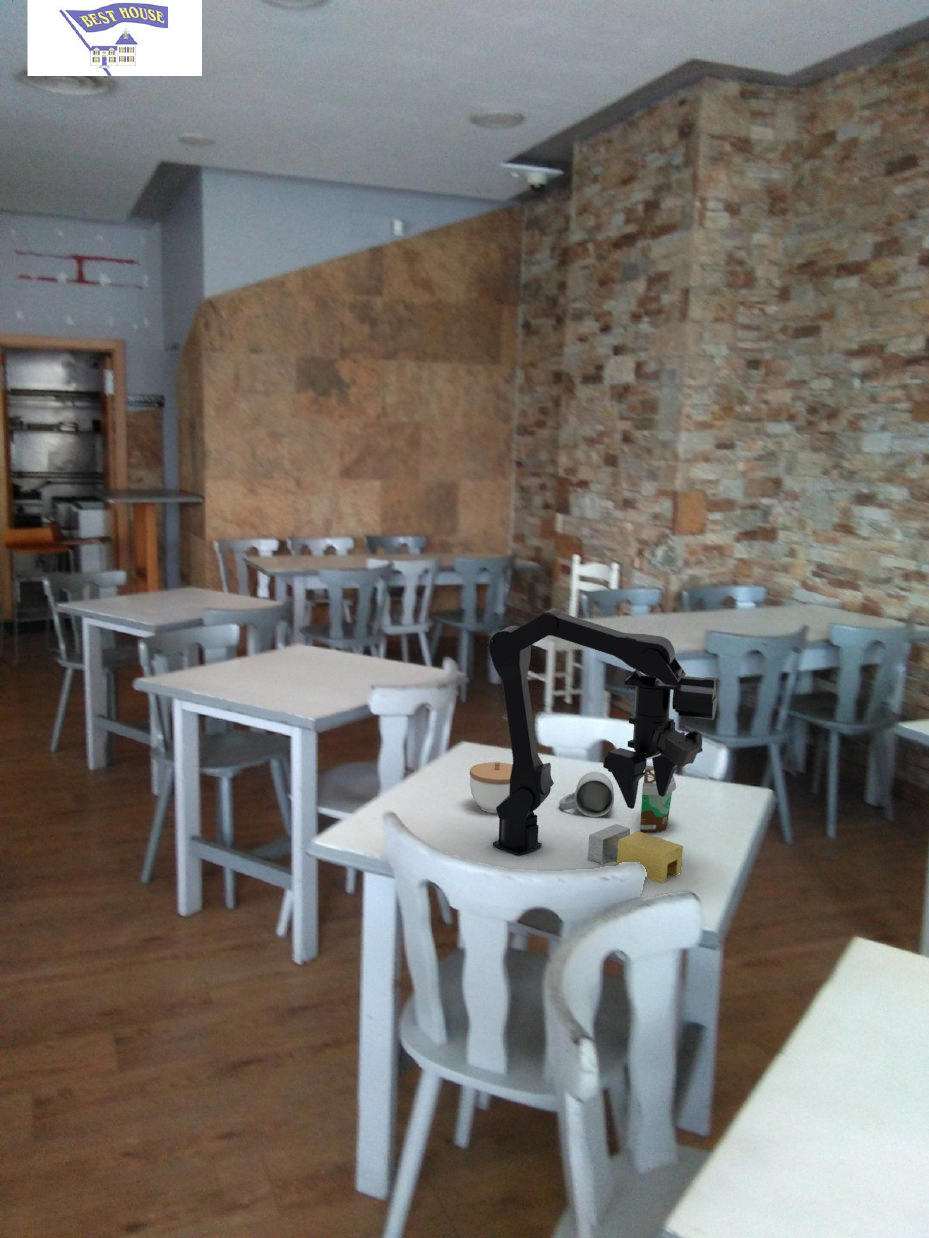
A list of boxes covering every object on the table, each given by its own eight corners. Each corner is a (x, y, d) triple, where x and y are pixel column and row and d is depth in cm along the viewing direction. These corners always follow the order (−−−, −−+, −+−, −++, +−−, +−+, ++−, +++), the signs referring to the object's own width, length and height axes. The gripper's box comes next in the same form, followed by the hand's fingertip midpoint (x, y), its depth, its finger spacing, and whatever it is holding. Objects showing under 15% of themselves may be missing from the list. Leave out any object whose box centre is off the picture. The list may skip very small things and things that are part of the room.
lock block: (616, 867, 180) (618, 839, 179) (636, 858, 184) (638, 831, 183) (661, 883, 174) (663, 854, 173) (681, 873, 178) (682, 845, 177)
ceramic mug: (612, 804, 211) (614, 768, 209) (613, 818, 203) (614, 780, 201) (559, 802, 212) (560, 765, 211) (558, 815, 204) (559, 777, 203)
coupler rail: (587, 858, 183) (589, 834, 182) (614, 847, 188) (616, 823, 188) (638, 877, 175) (639, 852, 175) (664, 864, 181) (666, 840, 180)
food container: (673, 839, 193) (676, 787, 192) (639, 835, 194) (642, 783, 193) (673, 816, 205) (677, 767, 203) (641, 813, 206) (644, 764, 205)
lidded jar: (493, 795, 214) (495, 750, 213) (534, 808, 207) (536, 763, 205) (457, 807, 206) (458, 761, 205) (497, 821, 199) (499, 774, 198)
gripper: (661, 732, 163) (655, 828, 166) (723, 712, 176) (717, 801, 179) (603, 718, 171) (598, 809, 173) (667, 700, 184) (661, 785, 186)
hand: (646, 801), depth 178 cm, fingers open, 9 cm apart
